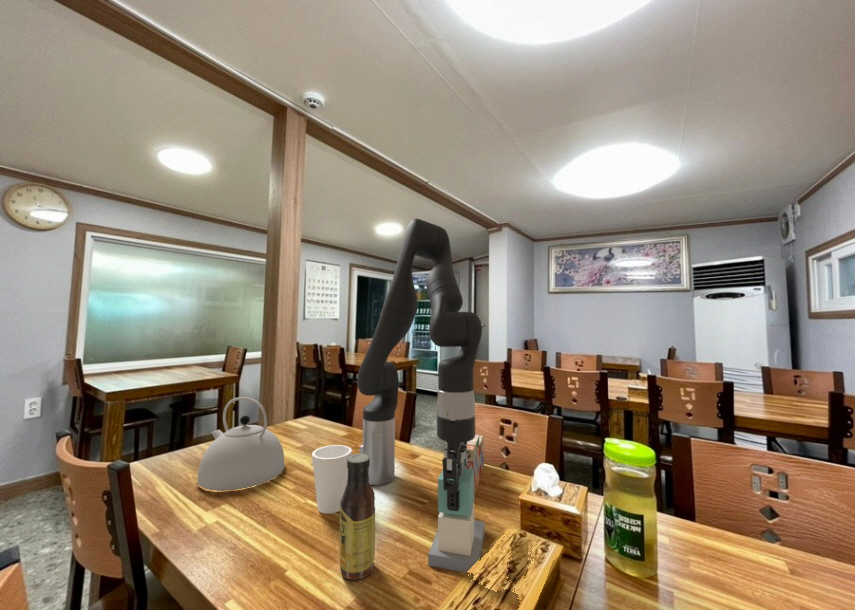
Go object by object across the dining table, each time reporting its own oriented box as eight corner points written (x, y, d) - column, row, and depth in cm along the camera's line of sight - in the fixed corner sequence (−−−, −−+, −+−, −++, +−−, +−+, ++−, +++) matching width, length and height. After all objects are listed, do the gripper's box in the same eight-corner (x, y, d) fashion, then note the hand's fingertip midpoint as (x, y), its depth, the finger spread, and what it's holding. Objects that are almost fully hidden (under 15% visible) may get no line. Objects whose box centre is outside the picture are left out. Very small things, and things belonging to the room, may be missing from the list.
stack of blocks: (464, 463, 108) (464, 424, 108) (484, 465, 106) (483, 425, 107) (449, 495, 87) (449, 446, 88) (473, 498, 85) (473, 448, 86)
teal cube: (438, 512, 63) (437, 479, 63) (444, 496, 68) (444, 466, 69) (470, 516, 61) (469, 482, 62) (474, 500, 67) (473, 469, 67)
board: (428, 565, 61) (428, 554, 61) (443, 525, 74) (443, 515, 74) (477, 574, 59) (477, 562, 59) (484, 531, 71) (484, 521, 71)
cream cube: (438, 550, 62) (438, 516, 63) (444, 531, 68) (444, 500, 68) (470, 555, 61) (469, 521, 61) (474, 536, 66) (474, 504, 67)
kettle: (172, 482, 94) (176, 401, 96) (243, 454, 115) (246, 388, 117) (235, 499, 85) (238, 409, 86) (300, 465, 106) (302, 393, 107)
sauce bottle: (342, 559, 63) (343, 450, 64) (375, 557, 63) (376, 449, 65) (335, 585, 56) (337, 464, 58) (373, 583, 57) (374, 462, 58)
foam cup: (358, 500, 84) (359, 447, 85) (336, 520, 75) (337, 461, 76) (326, 494, 87) (327, 443, 88) (302, 513, 78) (303, 456, 79)
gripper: (444, 403, 74) (445, 482, 73) (428, 421, 60) (428, 518, 59) (479, 405, 72) (479, 486, 71) (469, 424, 58) (470, 525, 57)
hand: (456, 500), depth 65 cm, fingers closed on teal cube, 5 cm apart
